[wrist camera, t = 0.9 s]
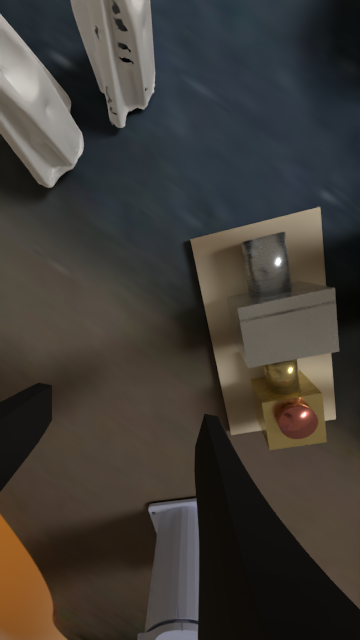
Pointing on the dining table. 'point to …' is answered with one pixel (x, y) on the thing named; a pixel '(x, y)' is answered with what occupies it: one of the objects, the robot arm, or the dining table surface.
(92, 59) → the salt and pepper shakers
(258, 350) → the grey rectangular block
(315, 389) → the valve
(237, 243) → the board
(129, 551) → the dining table surface
